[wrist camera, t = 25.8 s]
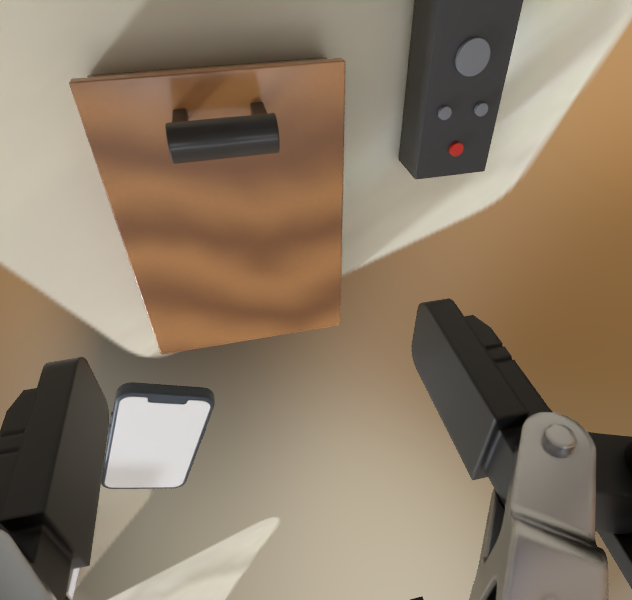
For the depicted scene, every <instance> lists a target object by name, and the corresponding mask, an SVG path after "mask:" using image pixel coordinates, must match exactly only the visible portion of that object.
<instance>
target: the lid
mask: <svg viewBox="0 0 632 600" xmlns="http://www.w3.org/2000/svg"><path fill="white" fill-rule="evenodd" d="M69 84H70V87H71V90H72V93H73V96H74V99H75V102H76V105H77V108H78V111H79V114H80V117H81V120H82V123H83V126H84V129H85V132H86V135H87V138H88V141H89V143H90V146H91V149H92V152H93V155H94V158H95V161H96V164H97V167H98V170H99V173H100V176H101V179H102V182H103V185H104V188H105V191H106V194H107V197H108V200H109V202H110V205H111V208H112V211H113V214H114V217H115V220H116V223H117V226H118V229H119V232H120V235H121V238H122V241H123V244H124V247H125V250H126V253H127V256H128V259H129V261H130V264H131V267H132V270H133V273H134V276H135V279H136V282H137V285H138V288H139V291H140V294H141V297H142V300H143V303H144V306H145V309H146V312H147V315H148V318H149V320H150V323H151V326H152V329H153V332H154V335H155V338H156V341H157V344H158V347H159V350H160V353H161V354H168V353H174V352H179V351H185V350H191V349H197V348H203V347H210V346H216V345H222V344H227V343H234V342H239V341H246V340H252V339H258V338H264V337H270V336H276V335H282V334H288V333H294V332H300V331H306V330H312V329H318V328H324V327H330V326H336V325H340V305H341V304H340V302H341V255H342V205H343V155H344V105H345V61H344V60H343V59H342V58H335V59H322V60H309V61H296V62H283V63H270V64H257V65H244V66H231V67H218V68H205V69H192V70H179V71H167V72H154V73H141V74H128V75H115V76H102V77H89V78H76V79H71V81H70V82H69Z"/></svg>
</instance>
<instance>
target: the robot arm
mask: <svg viewBox="0 0 632 600" xmlns="http://www.w3.org/2000/svg"><path fill="white" fill-rule="evenodd" d="M412 356H413V361H414V364H415V367H416V369H417V371H418V373H419V375H420V377H421V379H422V381H423V383H424V385H425V387H426V389H427V391H428V393H429V395H430V397H431V399H432V401H433V403H434V405H435V407H436V409H437V411H438V413H439V415H440V417H441V419H442V421H443V423H444V425H445V427H446V429H447V431H448V433H449V435H450V437H451V439H452V441H453V443H454V445H455V447H456V449H457V451H458V453H459V454H460V457H461V459H462V461H463V463H464V464H465V467H466V468H467V471H468V473H469V475H470V477H471V479H472V480H476V479H480V478H485V477H489V479H490V481H491V483H492V485H493V486H494V490H493V492H492V497H491V502H490V508H489V513H488V519H487V523H486V529H485V535H484V539H483V545H482V550H481V555H480V561H479V566H478V570H477V574H476V578H475V581H474V584H473V587H472V591H471V594H470V598H469V600H608V562H607V557H606V554H605V552H604V550H603V549H601V548H599V547H597V545H596V542H595V531H597V532H598V533H599V535H600V536H601V538H602V540H603V541H604V543H605V545H606V547H607V548H608V550H609V552H610V553H611V555H612V557H613V558H614V560H615V562H616V563H617V565H618V567H619V568H620V570H621V572H622V573H623V575H624V577H625V578H626V580H627V582H628V583H629V585H630V587H631V588H632V437H628V436H618V435H607V434H598V433H591V432H587V431H586V430H585V429H584V428H583V427H582V426H581V425H579V424H578V423H577V422H575V421H574V420H572V419H570V418H568V417H566V416H564V415H561V414H557V413H553V412H552V411H551V410H550V408H549V407H548V406H547V405H546V403H545V402H544V400H543V399H542V398H541V396H540V395H539V394H538V392H537V391H536V389H535V388H534V387H533V385H532V384H531V383H530V381H529V380H528V378H527V377H526V376H525V374H524V373H523V372H522V370H521V369H520V367H519V366H518V365H517V363H516V362H515V360H512V358H511V355H510V354H509V352H508V351H507V350H506V348H505V347H503V346H502V343H501V341H500V340H499V338H498V337H497V336H496V334H495V333H494V332H493V330H492V329H491V328H490V327H489V326H488V325H486V324H485V323H483V322H482V321H481V320H479V319H478V318H476V317H475V316H474V315H471V316H465V317H464V316H463V315H462V313H461V311H460V310H459V308H458V307H457V305H456V304H455V303H454V301H453V300H451V299H442V300H437V301H430V302H424V303H420V304H419V307H418V310H417V316H416V322H415V328H414V334H413V340H412ZM108 425H109V411H108V405H107V402H106V398H105V396H104V394H103V392H102V390H101V388H100V386H99V384H98V382H97V380H96V378H95V376H94V374H93V372H92V370H91V368H90V366H89V364H88V362H87V360H86V359H85V358H83V357H79V358H73V359H67V360H61V361H55V362H49V363H46V364H45V365H44V367H43V370H42V373H41V376H40V381H39V383H38V387H37V388H35V389H29V390H24V391H23V392H22V393H21V394H20V396H19V397H18V398H17V399H16V401H15V402H14V403H13V404H12V406H11V407H10V408H9V409H8V411H7V412H6V415H5V419H4V421H3V424H2V427H1V430H0V600H73V599H72V598H71V596H70V595H69V593H68V592H67V586H68V580H69V574H70V570H72V569H76V568H80V567H85V566H89V565H90V558H91V550H92V543H93V536H94V529H95V521H96V514H97V507H98V499H99V492H100V485H101V478H102V470H103V463H104V456H105V448H106V441H107V434H108V427H109V426H108ZM411 600H423V597H419V598H415V599H411Z"/></svg>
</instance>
